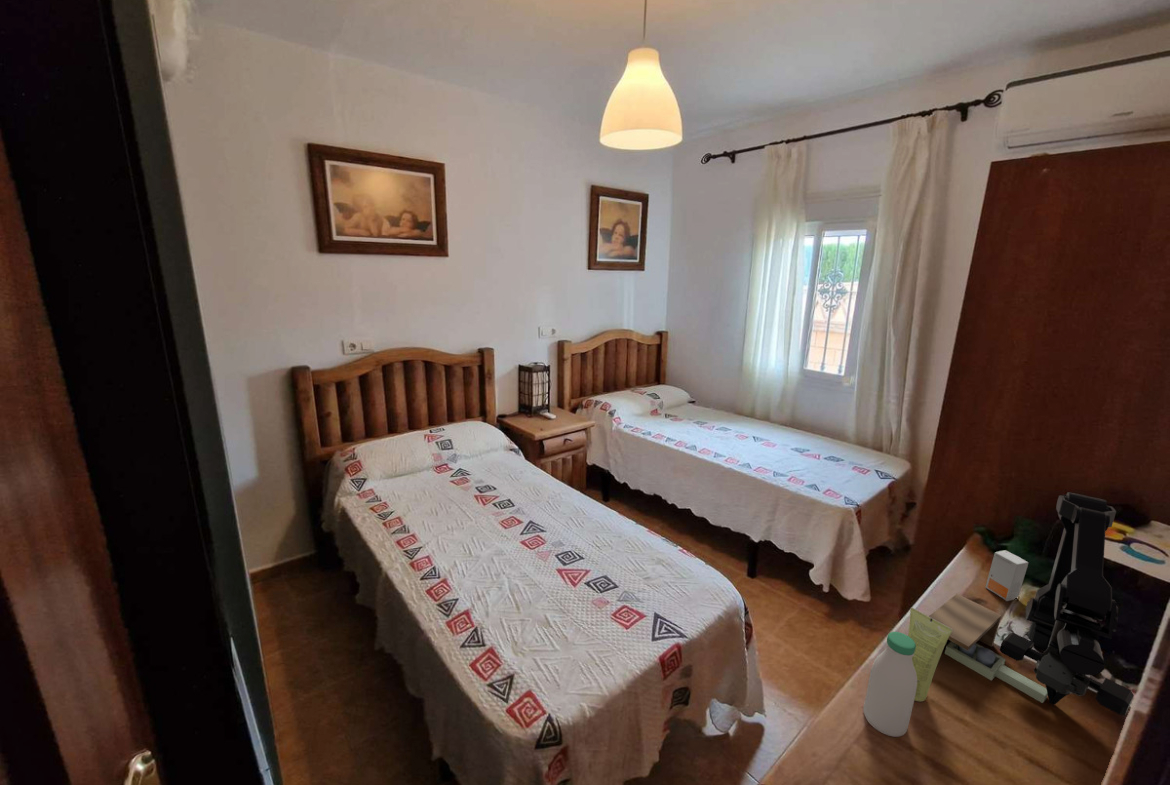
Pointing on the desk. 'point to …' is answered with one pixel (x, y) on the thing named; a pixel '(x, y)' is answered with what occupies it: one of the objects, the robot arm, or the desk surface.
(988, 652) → the grey rounded lump
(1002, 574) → the skincare box
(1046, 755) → the desk surface
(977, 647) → the tray
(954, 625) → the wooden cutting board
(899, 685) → the milk bottle
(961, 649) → the grey rounded lump
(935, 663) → the tube
